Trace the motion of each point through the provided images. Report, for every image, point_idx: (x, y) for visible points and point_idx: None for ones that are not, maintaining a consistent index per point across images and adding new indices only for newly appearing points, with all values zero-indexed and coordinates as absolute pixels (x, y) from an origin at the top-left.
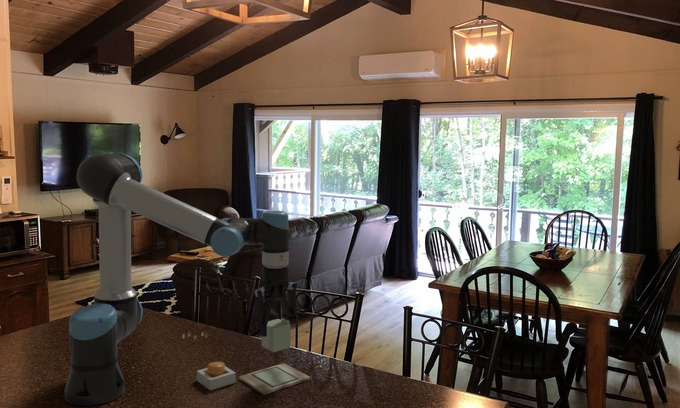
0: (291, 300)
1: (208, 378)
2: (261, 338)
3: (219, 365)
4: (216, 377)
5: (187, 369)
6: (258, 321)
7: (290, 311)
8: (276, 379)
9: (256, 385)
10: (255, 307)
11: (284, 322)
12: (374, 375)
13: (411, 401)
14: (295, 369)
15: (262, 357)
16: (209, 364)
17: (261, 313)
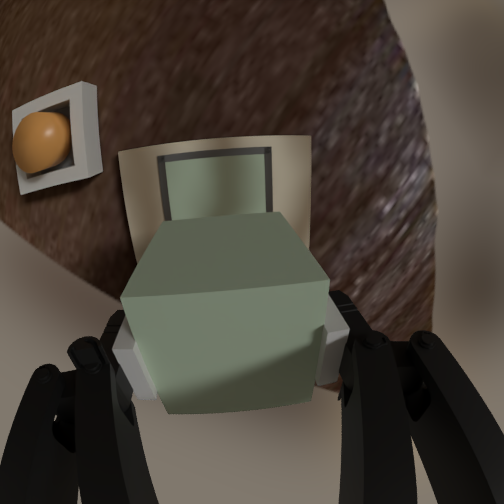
0: (442, 477)
1: (18, 181)
2: (152, 238)
3: (38, 151)
4: (35, 184)
5: (49, 24)
6: (60, 425)
7: (419, 368)
8: None
9: (139, 242)
10: (9, 482)
11: (301, 372)
12: (413, 313)
13: None
14: (309, 205)
15: (287, 32)
16: (20, 128)
17: (70, 479)
